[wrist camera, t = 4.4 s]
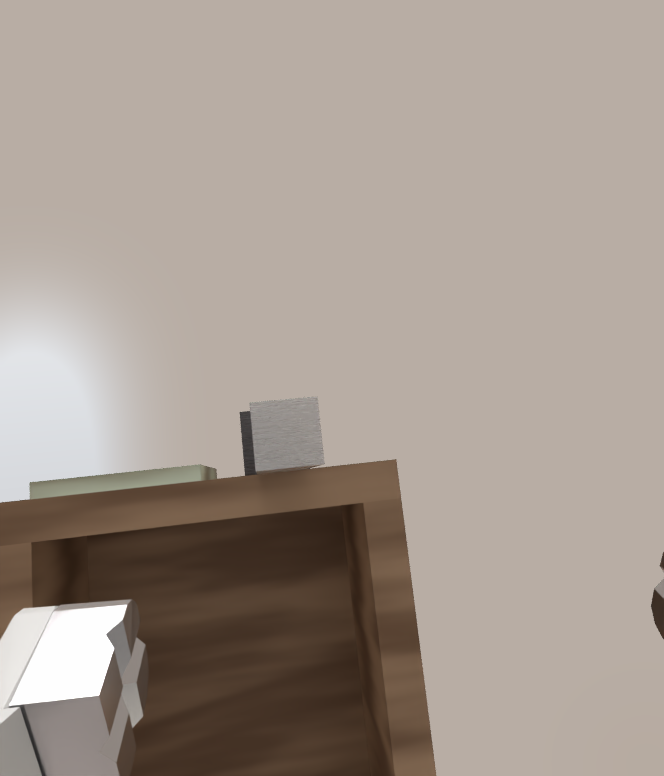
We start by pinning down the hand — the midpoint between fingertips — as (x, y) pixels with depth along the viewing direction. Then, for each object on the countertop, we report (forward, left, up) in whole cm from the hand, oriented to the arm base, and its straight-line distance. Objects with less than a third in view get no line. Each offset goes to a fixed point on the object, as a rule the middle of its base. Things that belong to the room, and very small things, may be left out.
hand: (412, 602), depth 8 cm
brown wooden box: (+22, -12, -24) cm, 35 cm away
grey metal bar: (+17, -12, +2) cm, 21 cm away
